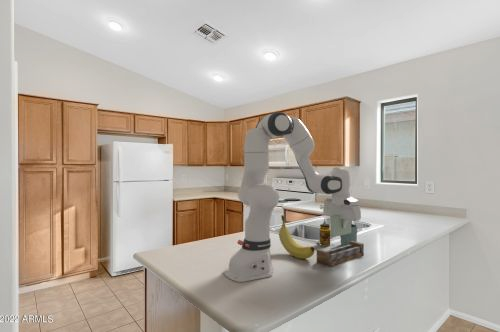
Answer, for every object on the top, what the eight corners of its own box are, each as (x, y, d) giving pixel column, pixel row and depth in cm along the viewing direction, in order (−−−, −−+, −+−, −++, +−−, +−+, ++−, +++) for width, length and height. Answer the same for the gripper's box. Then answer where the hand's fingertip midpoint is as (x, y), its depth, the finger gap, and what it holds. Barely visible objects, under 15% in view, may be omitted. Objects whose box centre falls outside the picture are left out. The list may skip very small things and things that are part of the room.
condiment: (323, 246, 156) (322, 226, 156) (315, 242, 164) (315, 223, 164) (333, 245, 158) (333, 225, 158) (325, 241, 166) (325, 222, 166)
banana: (317, 261, 133) (317, 220, 133) (310, 263, 129) (309, 222, 129) (284, 250, 150) (284, 214, 150) (276, 252, 147) (276, 215, 147)
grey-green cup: (354, 249, 151) (354, 227, 151) (336, 246, 157) (336, 225, 157) (359, 245, 159) (359, 224, 159) (342, 242, 165) (342, 222, 165)
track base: (328, 266, 125) (328, 253, 125) (316, 262, 131) (316, 250, 131) (363, 255, 141) (363, 243, 141) (351, 251, 147) (351, 240, 147)
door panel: (333, 237, 131) (333, 216, 131) (330, 236, 133) (330, 215, 133) (351, 232, 139) (351, 213, 139) (347, 232, 141) (347, 212, 141)
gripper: (320, 198, 143) (320, 224, 143) (354, 202, 126) (354, 232, 126) (328, 197, 146) (328, 222, 146) (362, 201, 129) (362, 230, 129)
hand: (340, 227), depth 136 cm, fingers closed on door panel, 2 cm apart
